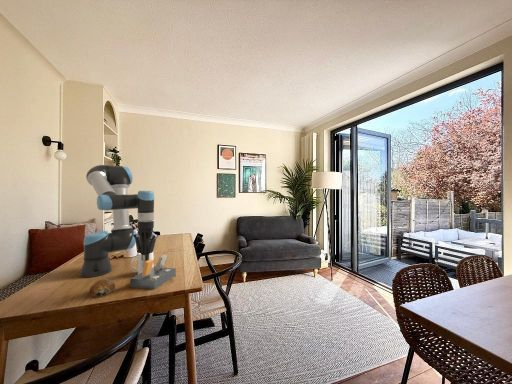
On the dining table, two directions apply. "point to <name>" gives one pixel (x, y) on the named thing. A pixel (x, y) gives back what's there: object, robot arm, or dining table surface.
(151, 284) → the panel
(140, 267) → the mug
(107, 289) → the bread roll
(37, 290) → the dining table surface
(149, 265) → the orange and white block
